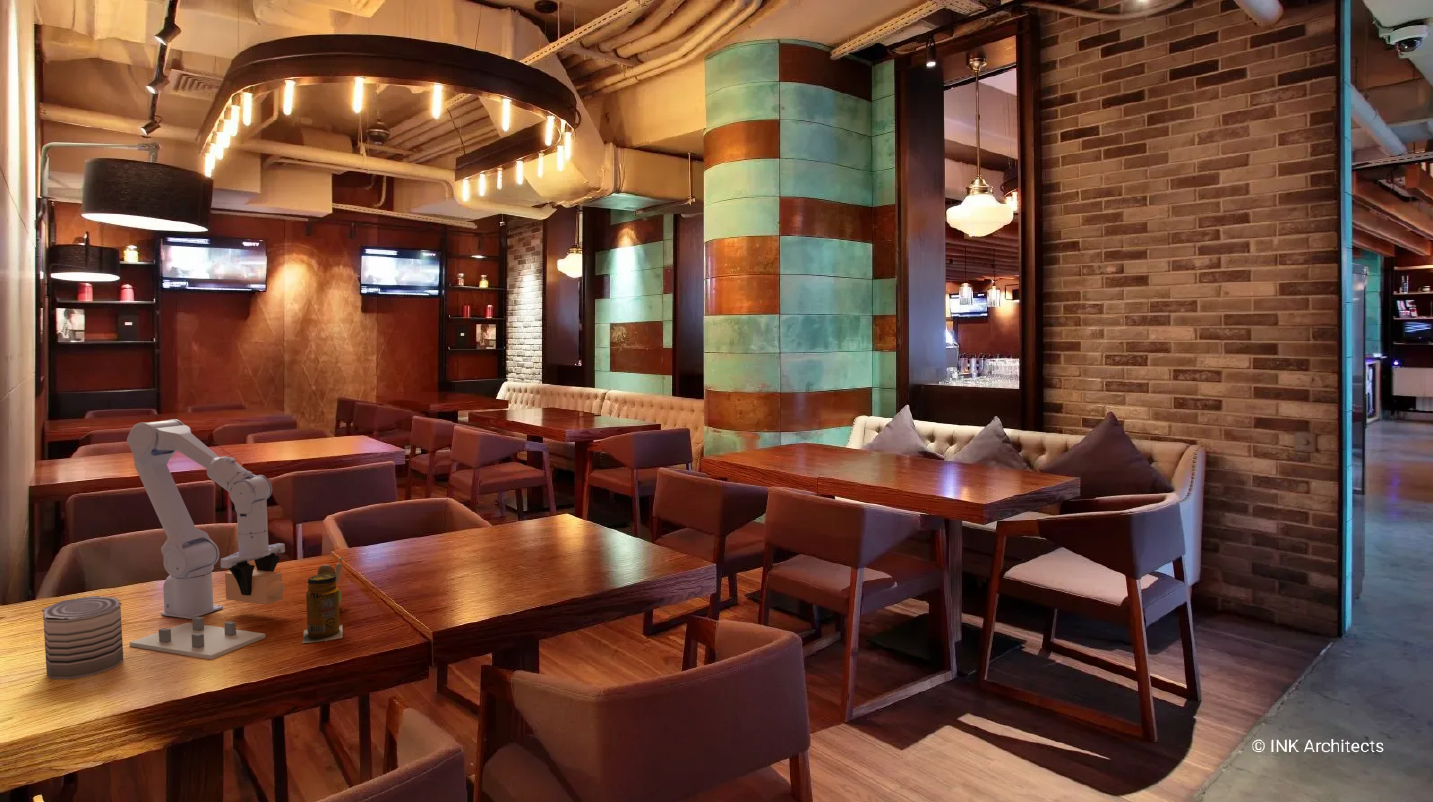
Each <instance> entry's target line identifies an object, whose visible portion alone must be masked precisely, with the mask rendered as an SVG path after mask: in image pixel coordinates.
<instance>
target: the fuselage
mask: <svg viewBox="0 0 1433 802" xmlns="http://www.w3.org/2000/svg"><path fill="white" fill-rule="evenodd" d="M224 576H225V577H224V583H225V599H226V601H227V600H229V601H235V602H243V603H251V604H257V605H258V604H259V605H266V606H268V605H270V604H273V603H277V602H279V601H282V600H283V599H284V598H283V595H284V592H285V589H286V588H285V587H286V586H285V584H284V582H283V578H282V577H283V575H282V572H279V571H274V572H270V571H261V570H257V569H254V570H253V575H252V591H251V595H249V596H247V595H242V594H241V591H240V588H239V586H238V583H237V581H236V579H235V577H234V576H233V574H232V573H231V571H230V570H229V571H227V572H224Z"/></svg>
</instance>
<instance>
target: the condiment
mask: <svg viewBox="0 0 1433 802" xmlns="http://www.w3.org/2000/svg"><path fill="white" fill-rule="evenodd" d="M307 579H308V580H307V591H306V594H305V597H306V599H305V600H306V601H305V602H306V623H307V624H306V628H307V629H304V630H303V636H302V644H306V643H308V644H310V643H320V642H324V641H325V642H327V641H332V640H338V639H343V637H344V636H343V632H344V631H343V624H341V623H340V603H339V590H340V589H339V588H338V587H337V584H338V583H336V576H335V575H333V574H320V575H318V574H316V575H313V576H310V577H309V578H307ZM338 589H339V590H338Z"/></svg>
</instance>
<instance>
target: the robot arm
mask: <svg viewBox="0 0 1433 802" xmlns="http://www.w3.org/2000/svg"><path fill="white" fill-rule="evenodd" d="M126 442H127V444H128V447H129V448H130V451H131V453H132V455H133V460H134V462H133V463H134V467H135V470H136V471H137V474H138V476H139V478H140V481H141V483H142V484H143V485H142V486H143V488H144V489H145V491H146V494H147V496H148V498H149V500H150V503H151V504H152V507H153V509H154V511H155V514H156V516H157V518H158V520H159V523H160V524H161V527H162V529H163V531H164V533H165V535H166V537H167V539H166V540H165V542H164V543H163V545H162V546H161V548H160V551H161V554H162V557H163V567H164V570H165V571H166V572H167V574H168V576H167V577H166V579H165V580H164V582H163V586H162V587H163V588H162V590H163V591H162V593H163V609H164V611H162V612H160V615H161V616H167V617H174V618H180V619H189V620H192V618H194V617H202V616H204V615H207V614H210V613H212V612H215V611H218V610H219V611H220V610H221V609H223V608H224V606H223V605H218V604H214V589H213V570H215V567H214V566H215V564H216V563H218V561H219V559H220V569H221V568H222V569H228V571H229V572H230V571H231V573H232V574H233V576H234V577H235V579H236V581H237V583H238V586H239V588H240V591H241V594H242V595H247V596H249V595H251V591H252V575H253V570H255V567H256V570H261V571H270V572H275V569H276V567H277V565H278V564H279V562H280V555H276V554H282V553H285V552H286V547H285V543H280V542H278V543H274V544H269V530H268V529H269V527H268V510H267V509H268V506H267V505H268V503H267V500H268V499H269V498H270V497H271V495H272V493H273V486H272V483H271V481H270V480H269V479H268V478H267V477H266V476H265V475H263V474H258V475H256V474H254V473H253V472H252V471H251V470H247V469H246V468H244V467H243V466H242V465H241V464H239V463H238V462H236V461H237V459H236V458H234V457H233V456H231V457H229V456H218V454H216V453H215V451H213V450H212V449H211V448H210V447H208V446H207V445H206V444H205V443H203V442H202V441H201V440H200V439H199V438H197V436H195V435H194V433H192V430H191V427H190V426H188V425H185V424H184V423H183V422H182V421H181V420H180V419H176V418H171V419H168V420H167V419H166V420H159V421H150V422H142V421H141V422H138V423H135V424H134V425H133V426H132V427H131V429H130V432H129V433H128V436H127V438H126ZM177 452H179V453H181V454H182V455H184V456H186V457H188V458H189V459H190V460H192V461H194V462H196V464H199V465H200V466H201V467H203V468H204V469H206V475H207V477H208V478H209V479H211V481H213V482H214V483H216V484H217V485H219V486H220V487H221V488H223V489H224V490H225V491H227V492H228V495H229V499H230V500H231V502H232V503H233V504H234V511H235V512H236V516H237V517H236V518H237V519H236V520H237V523H236V524H237V542H238V551H237V552H234V553H232V554H230V555H228V556H226V557H221V558H220V549H219V547H218V545H217V543H215V542H214V541H213V540H212V539H211V538H210V536H209V534H208V532H206V531H204V530H202V529H200V528H198V527H196V525H195V523H194V521H193V519H192V517H191V514H190V513H189V511H188V508H187V507H186V504H185V502H184V499H183V498H182V494H181V493H180V491H179V489H178V487H177V484H176V482H175V480H174V477H173V475H172V473H171V471H170V469H169V467H168V463H169V461H170V460H171V459H172V457H173V456H174V455H175V454H176V453H177ZM252 561H253V562H254V563H255V565H253V564H250V563H248V562H252Z"/></svg>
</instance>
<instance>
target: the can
mask: <svg viewBox="0 0 1433 802" xmlns="http://www.w3.org/2000/svg"><path fill="white" fill-rule="evenodd" d="M122 605H123V604H122V603H121V601H120V599H119V598H118V597H112V596H111V597H110V596H99V595H98V596H97V595H96V596H95V595H90V596H84V597H78V598H71V599H66V600H61V601H58V602H55V603H54V604H51V605H49V606H47V607H46V606H45V608H42V609H41V612H42V613H43V615H42V618H43V619H42V620H43V621H42V622H43V634H44V635H43V636H44V653H45V665H46V666H45V667H46V675H47V676H48V677H49V679H50V680H67V681H68V680H75V679H80V678H85V677H92V676H95V675H99V674H101V673H104V672H107V671H110V670H114V669H115V668H117V667H118V666H119V665H120V664H121V663H123V662H124V647H123V646H124V645H123V629H122V628H123V627H122V609H121V608H122V607H121V606H122Z"/></svg>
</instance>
